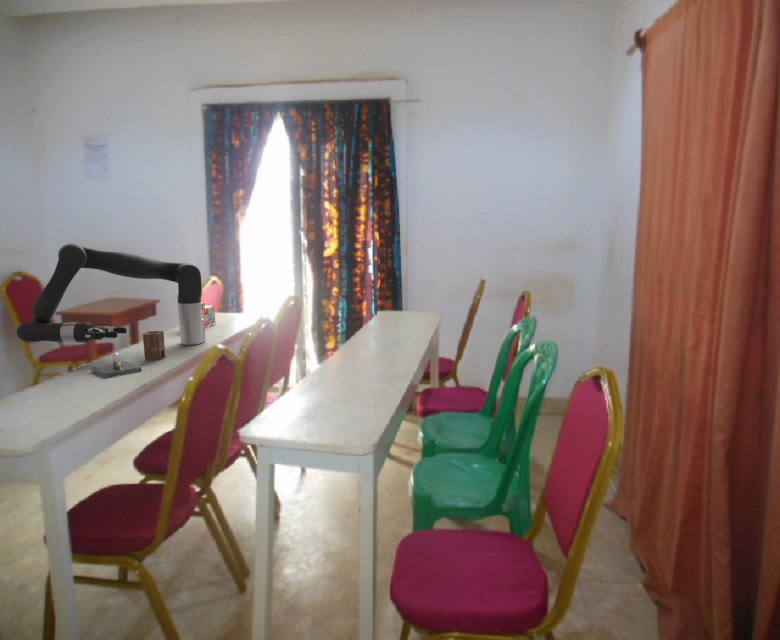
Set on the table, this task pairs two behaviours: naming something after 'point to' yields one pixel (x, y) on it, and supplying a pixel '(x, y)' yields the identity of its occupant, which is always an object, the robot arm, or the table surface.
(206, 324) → the stack of blocks
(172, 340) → the table surface
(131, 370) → the base plate
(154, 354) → the sleeve
